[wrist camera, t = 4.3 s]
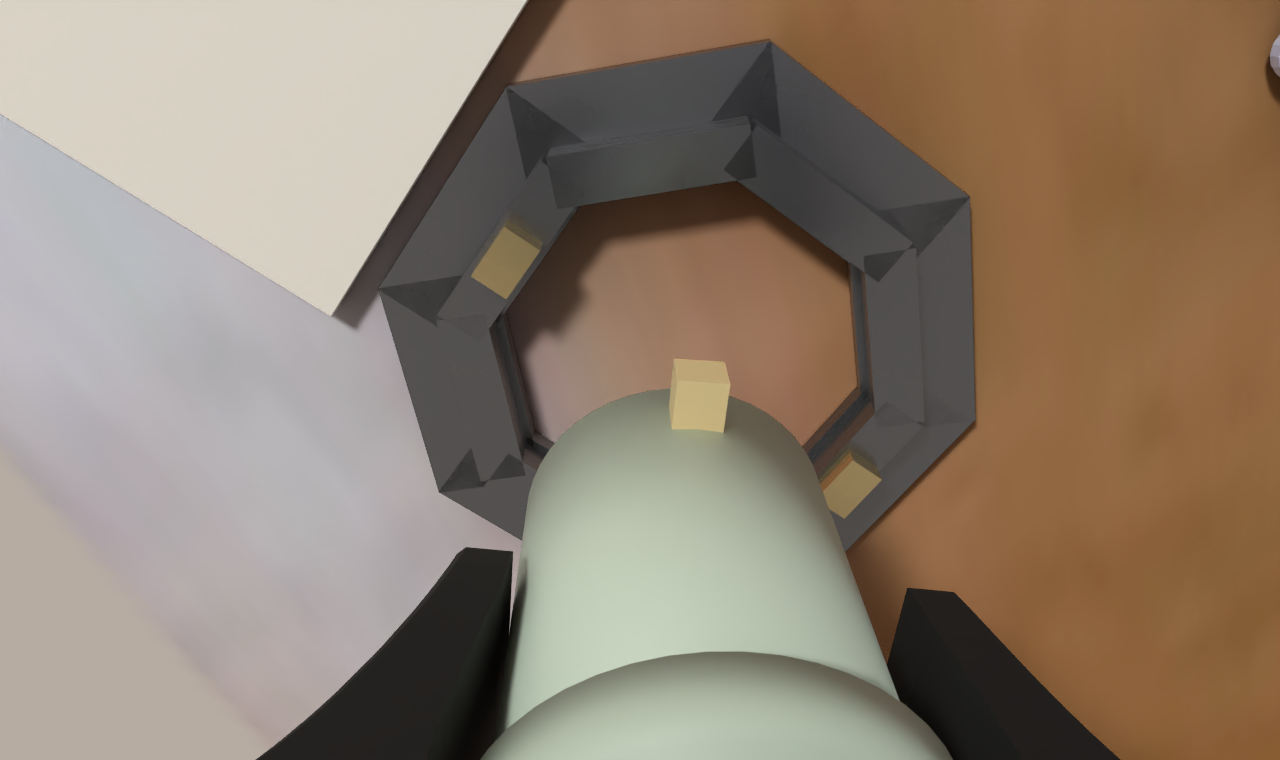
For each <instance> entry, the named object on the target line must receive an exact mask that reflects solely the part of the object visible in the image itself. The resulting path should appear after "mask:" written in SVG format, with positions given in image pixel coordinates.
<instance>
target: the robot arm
mask: <svg viewBox="0 0 1280 760" xmlns="http://www.w3.org/2000/svg"><path fill="white" fill-rule="evenodd" d="M1270 63H1271V67H1272V68H1273V70H1274V71H1275V73H1276V74H1277V75H1278V76H1279V77H1280V35H1279V36H1278V38H1277V39H1276V41H1275V42H1274V43H1273V46H1272V49H1271V53H1270ZM512 562H513V552H512V551H501V550H490V549H479V548H469V547H466V548H465V549H463V550H462V551H460V552H459V553H458V554H457V555H456V556H455V558H454V559H453V561H452V562H451V564H450V565H449V566H448V568H447V569H446V571H445V572H444V573H443V575H442V576H441V577H440V579H439V580H438V581H437V583H436V584H435V585H434V586H433V588H432V589H431V590H430V591H429V593H428V594H427V595H426V596H425V598H424V599H423V600H422V601H421V602H420V604H419V605H418V606H417V607H416V609H415V610H414V611H413V612H412V613H411V614H410V616H409V617H408V618H407V619H406V620H405V621H404V622H403V623H402V625H401V626H400V627H399V628H398V629H397V630H396V631H395V632H394V634H393V635H392V636H391V637H390V638H389V639H388V640H387V641H386V643H385V644H384V645H383V646H382V647H381V648H380V649H379V650H378V651H377V652H376V653H375V654H374V655H373V656H372V657H371V658H370V659H369V660H368V661H367V662H366V663H365V664H364V665H363V666H362V667H361V668H360V669H359V670H358V671H357V672H356V673H355V674H354V675H353V676H352V677H351V678H350V679H349V680H348V681H347V682H346V683H345V684H344V685H343V686H342V687H341V688H340V689H339V690H338V691H337V692H336V693H335V694H334V695H333V696H332V697H331V698H330V699H328V700H327V701H326V702H325V703H324V704H323V705H322V706H321V707H320V708H319V709H317V710H316V711H315V712H314V713H313V714H312V715H311V716H309V717H308V718H307V719H306V720H305V721H304V722H302V723H301V724H300V725H299V726H298V727H296V728H295V729H294V730H293V731H292V732H290V733H289V734H288V735H287V736H286V737H284V738H283V739H282V740H281V741H280V742H278V743H277V744H276V745H275V746H273V747H272V748H271V749H269V750H268V751H267V752H265V753H264V754H263V755H262V756H260V757H259V758H257V759H256V760H480V759H481V758H482V757H483V755H484V754H485V752H486V751H487V750H488V748H489V747H490V746H491V745H492V744H493V743H494V741H495V734H496V727H497V720H498V712H499V705H500V698H501V691H502V683H503V676H504V669H505V662H506V655H507V647H508V640H509V624H510V603H511V582H512ZM887 668H888V670H889V673H890V676H891V679H892V681H893V684H894V687H895V690H896V692H897V695H898V698H899V700H900V702H902V703H903V704H905V705H906V706H907V707H908V708H910V709H911V710H912V711H913V712H914V713H915V714H916V715H917V716H919V717H920V718H921V719H922V720H923V721H924V722H925V723H926V724H928V726H929V727H930V728H931V729H932V730H933V732H934V733H935V734H936V735H937V737H938V738H939V739H940V740H941V741H942V743H943V744H944V745H945V746H946V748H947V750H948V752H949V754H950V755H951V757H952V759H953V760H1120V759H1119V758H1118V757H1117V756H1116V755H1114V754H1113V753H1112V752H1111V751H1110V750H1109V749H1108V748H1107V747H1106V746H1105V745H1104V744H1102V743H1101V742H1100V741H1099V740H1098V739H1097V738H1096V737H1095V736H1094V735H1093V734H1092V733H1090V732H1089V731H1088V730H1087V729H1086V728H1085V727H1084V726H1083V725H1082V724H1081V723H1080V722H1079V721H1078V720H1077V719H1076V718H1075V717H1074V716H1073V715H1072V714H1071V713H1070V712H1069V711H1068V710H1067V709H1066V708H1065V707H1064V706H1063V705H1062V704H1061V703H1060V702H1059V701H1058V700H1057V699H1056V698H1055V697H1054V696H1053V695H1052V694H1051V693H1050V692H1049V691H1048V690H1047V689H1046V688H1045V687H1044V686H1043V685H1042V684H1041V683H1040V682H1039V681H1038V680H1037V679H1036V678H1035V677H1034V676H1033V675H1032V674H1031V673H1030V672H1029V671H1028V670H1027V669H1026V668H1025V667H1024V666H1023V664H1022V663H1021V662H1020V661H1019V660H1018V659H1017V658H1016V657H1015V656H1014V655H1013V654H1012V653H1011V652H1010V651H1009V650H1008V649H1007V647H1006V646H1005V645H1004V644H1003V643H1002V642H1001V641H1000V640H999V639H998V638H997V637H996V636H995V635H994V634H993V633H992V631H991V630H990V629H989V628H988V627H987V626H986V625H985V624H984V623H983V622H982V621H981V620H980V619H979V618H978V616H977V615H976V614H975V613H974V612H973V611H972V610H971V609H970V608H969V607H968V606H967V605H966V604H965V603H964V602H963V601H962V600H961V599H960V598H959V597H958V596H957V595H956V594H955V593H954V592H947V591H936V590H925V589H914V588H907V591H906V595H905V599H904V603H903V607H902V610H901V614H900V618H899V622H898V625H897V629H896V633H895V637H894V641H893V644H892V648H891V652H890V656H889V660H888V663H887Z"/></svg>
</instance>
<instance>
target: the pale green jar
mask: <svg viewBox="0 0 1280 760" xmlns="http://www.w3.org/2000/svg"><path fill="white" fill-rule="evenodd" d="M729 389H730V381H729V377H728V373H727V369H726V365H725V362H717V361H702V360H687V359H674V364H673V373H672V382H671V388H670V389H661V390H652V391H646V392H642V393H638V394H633V395H629V396H627V397H624V398H621V399H618V400H616V401H613V402H610V403H608V404H606V405H604V406H602V407H600V408H598V409H596V410H594V411H592V412H591V413H589V414H588V415H587V416H585V417H584V418H582V419H581V420H579V421H578V422H576V423H575V424H574V425H573V426H572V427H571V428H569V429H568V430H567V431H566V432H565V433H564V434H563V435H562V436H561V437H560V438H559V439H558V440H557V441H556V443H555V444H554V445H553V446H552V447H551V448H550V450H549V451H548V453H547V454H546V456H545V457H544V459H543V461H542V462H541V464H540V466H539V468H538V470H537V472H536V475H535V477H534V479H533V482H532V485H531V489H530V492H529V496H528V503H527V510H526V517H525V524H524V532H523V539H522V546H521V553H520V560H519V568H518V575H517V582H516V589H515V597H514V604H513V611H512V618H511V626H510V633H509V640H508V647H507V655H506V662H505V669H504V676H503V683H502V691H501V698H500V705H499V712H498V720H497V727H496V734H495V741H494V743H493V744H492V745H491V746H490V747H489V748H488V750H487V751H486V752H485V754H484V755H483V757H482V758H481V759H480V760H953V759H952V757H951V755H950V754H949V752H948V750H947V748H946V746H945V745H944V744H943V743H942V741H941V740H940V739H939V738H938V737H937V735H936V734H935V733H934V732H933V730H932V729H931V728H930V727H929V726H928V724H926V723H925V722H924V721H923V720H922V719H921V718H920V717H919V716H917V715H916V714H915V713H914V712H913V711H912V710H911V709H910V708H908V707H907V706H906V705H905V704H903V703H902V702H900V700H899V698H898V695H897V692H896V690H895V687H894V684H893V681H892V679H891V676H890V673H889V670H888V668H887V665H886V662H885V660H884V657H883V654H882V651H881V649H880V646H879V643H878V641H877V638H876V635H875V632H874V630H873V627H872V624H871V622H870V619H869V616H868V613H867V611H866V608H865V605H864V603H863V600H862V597H861V594H860V592H859V589H858V586H857V583H856V581H855V578H854V575H853V573H852V570H851V567H850V564H849V562H848V559H847V556H846V554H845V551H844V548H843V545H842V543H841V540H840V537H839V535H838V532H837V529H836V526H835V524H834V521H833V518H832V515H831V513H830V510H829V507H828V505H827V502H826V499H825V496H824V494H823V491H822V488H821V486H820V483H819V480H818V477H817V475H816V472H815V469H814V467H813V464H812V462H811V461H810V459H809V457H808V455H807V453H806V452H805V450H804V449H803V447H802V446H801V445H800V443H799V442H798V441H797V439H796V438H795V437H794V436H793V435H792V434H791V433H790V432H789V431H788V430H787V429H786V428H785V427H784V426H783V425H782V424H781V423H780V422H778V421H777V420H776V419H774V418H773V417H772V416H770V415H769V414H767V413H766V412H764V411H762V410H761V409H759V408H757V407H755V406H753V405H751V404H750V403H747V402H745V401H742V400H740V399H737V398H734V397H732V396H729Z"/></svg>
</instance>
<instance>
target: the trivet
mask: <svg viewBox="0 0 1280 760" xmlns="http://www.w3.org/2000/svg"><path fill="white" fill-rule="evenodd" d="M528 1H529V0H0V114H2V115H3V116H5V117H7V118H8V119H10V120H12V121H13V122H15V123H17V124H18V125H20V126H21V127H23V128H25V129H26V130H28V131H30V132H31V133H33V134H34V135H36V136H38V137H39V138H41V139H43V140H44V141H46V142H47V143H49V144H51V145H52V146H54V147H56V148H57V149H59V150H61V151H62V152H64V153H65V154H67V155H69V156H70V157H72V158H74V159H75V160H77V161H78V162H80V163H82V164H83V165H85V166H87V167H88V168H90V169H91V170H93V171H95V172H96V173H98V174H100V175H101V176H103V177H105V178H106V179H108V180H109V181H111V182H113V183H114V184H116V185H118V186H119V187H121V188H122V189H124V190H126V191H127V192H129V193H131V194H132V195H134V196H135V197H137V198H139V199H140V200H142V201H144V202H145V203H147V204H149V205H150V206H152V207H153V208H155V209H157V210H158V211H160V212H162V213H163V214H165V215H166V216H168V217H170V218H171V219H173V220H175V221H176V222H178V223H179V224H181V225H183V226H184V227H186V228H188V229H189V230H191V231H192V232H194V233H196V234H197V235H199V236H201V237H202V238H204V239H206V240H207V241H209V242H210V243H212V244H214V245H215V246H217V247H219V248H220V249H222V250H223V251H225V252H227V253H228V254H230V255H232V256H233V257H235V258H236V259H238V260H240V261H241V262H243V263H245V264H246V265H248V266H250V267H251V268H253V269H254V270H256V271H258V272H259V273H261V274H263V275H264V276H266V277H267V278H269V279H271V280H272V281H274V282H276V283H277V284H279V285H280V286H282V287H284V288H285V289H287V290H289V291H290V292H292V293H294V294H295V295H297V296H298V297H300V298H302V299H303V300H305V301H307V302H308V303H310V304H311V305H313V306H315V307H316V308H318V309H320V310H321V311H323V312H324V313H326V314H328V315H329V316H332V314H333V313H334V312H335V311H336V309H337V308H338V307H339V306H340V304H341V302H342V301H343V299H344V298H345V296H346V294H347V293H348V291H349V290H350V288H351V286H352V285H353V283H354V281H355V280H356V278H357V277H358V275H359V273H360V272H361V270H362V269H363V267H364V265H365V264H366V262H367V261H368V259H369V257H370V256H371V254H372V252H373V251H374V249H375V248H376V246H377V244H378V243H379V241H380V240H381V238H382V236H383V235H384V233H385V232H386V230H387V228H388V227H389V225H390V223H391V222H392V220H393V219H394V217H395V215H396V214H397V212H398V211H399V209H400V207H401V206H402V204H403V203H404V201H405V199H406V198H407V196H408V194H409V193H410V191H411V190H412V188H413V186H414V185H415V183H416V182H417V180H418V178H419V177H420V175H421V174H422V172H423V170H424V169H425V167H426V165H427V164H428V162H429V161H430V159H431V157H432V156H433V154H434V153H435V151H436V149H437V148H438V146H439V145H440V143H441V141H442V140H443V138H444V137H445V135H446V133H447V132H448V130H449V128H450V127H451V125H452V124H453V122H454V120H455V119H456V117H457V116H458V114H459V112H460V111H461V109H462V108H463V106H464V104H465V103H466V101H467V99H468V98H469V96H470V95H471V93H472V91H473V90H474V88H475V87H476V85H477V83H478V82H479V80H480V79H481V77H482V75H483V74H484V72H485V70H486V69H487V67H488V66H489V64H490V62H491V61H492V59H493V58H494V56H495V54H496V53H497V51H498V50H499V48H500V46H501V45H502V43H503V41H504V40H505V38H506V37H507V35H508V33H509V32H510V30H511V29H512V27H513V25H514V24H515V22H516V21H517V19H518V17H519V16H520V14H521V12H522V11H523V9H524V8H525V6H526V4H527V3H528Z"/></svg>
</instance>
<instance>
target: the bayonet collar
mask: <svg viewBox="0 0 1280 760" xmlns="http://www.w3.org/2000/svg"><path fill="white" fill-rule="evenodd" d="M731 181H738V182H739V183H740V184H742V185H743V186H744V187H746V188H747V189H749V190H750V191H751V192H753V193H754V194H755V195H757V196H758V197H760V198H761V199H762V200H764V201H765V202H766V203H768V204H769V205H770V206H772V207H773V208H775V209H776V210H777V211H779V212H780V213H781V214H783V215H784V216H786V217H787V218H788V219H790V220H791V221H792V222H794V223H795V224H796V225H798V226H799V227H801V228H802V229H803V230H805V231H806V232H807V233H809V234H810V235H812V236H813V237H814V238H816V239H817V240H818V241H820V242H821V243H823V244H824V245H825V246H827V247H828V248H829V249H831V250H832V251H833V252H835V253H836V254H838V255H839V256H840V257H842V258H843V259H844V260H846V261H847V266H848V278H849V291H850V303H851V315H852V327H853V340H854V352H855V364H856V376H857V387H856V388H855V389H854V391H853V392H852V393H851V394H850V395H849V396H848V397H847V398H846V399H845V400H844V402H843V403H842V404H841V405H840V406H839V407H838V408H837V409H836V410H835V411H834V413H833V414H832V415H831V416H830V417H829V418H828V419H827V420H826V421H825V422H824V424H823V425H822V426H821V427H820V428H819V429H818V430H817V431H816V432H815V434H814V435H813V436H812V437H811V438H810V439H809V440H808V441H807V442H806V443H805V445H804V446H803V449H804V450H805V452H806V453H807V455H808V457H809V459H810V461H811V462H812V464H813V467H814V469H815V472H816V475H817V477H818V480H819V483H820V486H821V488H822V491H823V494H824V496H825V499H826V502H827V505H828V507H829V510H830V513H831V515H832V518H833V521H834V524H835V526H836V529H837V532H838V535H839V537H840V540H841V543H842V545H843V548H844V551H845V552H846V551H847V550H848V549H849V548H850V547H851V546H852V545H853V544H854V543H855V542H856V541H857V539H858V538H859V537H860V536H861V535H862V534H863V533H864V532H865V531H866V530H867V529H868V528H869V527H870V526H871V525H872V524H873V523H874V522H875V521H876V520H877V519H878V518H879V517H880V516H881V515H882V514H883V513H884V512H885V511H886V510H887V509H888V508H889V507H890V506H891V505H892V504H893V503H894V502H895V501H896V500H897V499H898V498H899V497H900V496H901V495H902V494H903V493H904V492H905V491H906V490H907V489H908V488H909V487H910V486H911V485H912V484H913V483H914V482H915V480H916V479H917V478H918V477H919V476H920V475H921V474H922V473H923V472H924V471H925V470H926V469H927V468H928V467H929V466H930V465H931V464H932V463H933V462H934V461H935V460H936V459H937V458H938V457H939V456H940V455H941V454H942V453H943V452H944V451H945V450H946V449H947V448H948V447H949V446H950V445H951V444H952V443H953V442H954V441H955V440H956V439H957V438H958V437H959V436H960V435H961V434H962V433H963V432H964V431H965V430H966V429H967V428H968V427H969V426H970V425H971V424H972V423H973V421H974V420H975V419H976V418H975V384H974V344H973V305H972V265H971V225H970V196H969V195H968V194H967V193H966V192H965V191H962V190H961V189H960V188H959V187H957V186H956V185H955V184H953V183H952V182H951V181H950V180H948V179H947V178H946V177H945V176H943V175H942V174H941V173H939V172H938V171H937V170H936V169H934V168H933V167H932V166H930V165H929V164H928V163H927V162H925V161H924V160H923V159H921V158H920V157H919V156H918V155H916V154H915V153H914V152H912V151H911V150H910V149H909V148H907V147H906V146H905V145H904V144H902V143H901V142H900V141H898V140H897V139H896V138H895V137H893V136H892V135H891V134H889V133H888V132H887V131H886V130H884V129H883V128H882V127H880V126H879V125H878V124H877V123H875V122H874V121H873V120H871V119H870V118H869V117H868V116H866V115H865V114H864V113H863V112H861V111H860V110H859V109H857V108H856V107H855V106H854V105H852V104H851V103H850V102H848V101H847V100H846V99H845V98H843V97H842V96H841V95H839V94H838V93H837V92H836V91H834V90H833V89H832V88H830V87H829V86H828V85H827V84H825V83H824V82H823V81H822V80H820V79H819V78H818V77H816V76H815V75H814V74H813V73H811V72H810V71H809V70H807V69H806V68H805V67H804V66H802V65H801V64H800V63H798V62H797V61H796V60H795V59H793V58H792V57H791V56H789V55H788V54H787V53H786V52H784V51H783V50H782V49H781V48H779V47H778V46H777V45H775V44H774V43H773V42H772V41H770V39H765V40H760V41H754V42H748V43H742V44H736V45H731V46H725V47H719V48H713V49H707V50H702V51H696V52H690V53H684V54H678V55H672V56H667V57H661V58H655V59H649V60H643V61H638V62H632V63H626V64H620V65H614V66H609V67H603V68H597V69H591V70H585V71H580V72H574V73H568V74H562V75H556V76H551V77H545V78H539V79H533V80H527V81H522V82H516V83H509V84H508V85H507V86H506V88H505V90H504V92H503V93H502V95H501V96H500V98H499V100H498V101H497V103H496V104H495V106H494V107H493V109H492V111H491V112H490V114H489V115H488V117H487V118H486V120H485V122H484V123H483V125H482V126H481V128H480V129H479V131H478V133H477V134H476V136H475V137H474V139H473V141H472V142H471V144H470V145H469V147H468V148H467V150H466V152H465V153H464V155H463V156H462V158H461V159H460V161H459V163H458V164H457V166H456V167H455V169H454V170H453V172H452V174H451V175H450V177H449V178H448V180H447V181H446V183H445V185H444V186H443V188H442V189H441V191H440V193H439V194H438V196H437V197H436V199H435V200H434V202H433V204H432V205H431V207H430V208H429V210H428V211H427V213H426V215H425V216H424V218H423V219H422V221H421V222H420V224H419V226H418V227H417V229H416V230H415V232H414V233H413V235H412V237H411V238H410V240H409V241H408V243H407V245H406V246H405V248H404V249H403V251H402V252H401V254H400V256H399V257H398V259H397V260H396V262H395V263H394V265H393V267H392V268H391V270H390V271H389V273H388V274H387V276H386V278H385V279H384V281H383V282H382V284H381V285H380V286H379V288H378V290H379V293H380V296H381V300H382V303H383V306H384V310H385V313H386V316H387V320H388V323H389V326H390V330H391V333H392V336H393V340H394V343H395V346H396V350H397V353H398V356H399V360H400V363H401V366H402V370H403V373H404V377H405V380H406V383H407V387H408V390H409V393H410V397H411V400H412V403H413V407H414V410H415V413H416V417H417V420H418V423H419V427H420V430H421V433H422V437H423V440H424V443H425V447H426V450H427V454H428V457H429V460H430V464H431V467H432V470H433V474H434V477H435V480H436V484H437V487H438V490H439V493H441V494H443V495H445V496H446V497H448V498H450V499H452V500H453V501H455V502H457V503H458V504H460V505H462V506H464V507H465V508H467V509H469V510H470V511H472V512H474V513H476V514H477V515H479V516H481V517H482V518H484V519H486V520H488V521H489V522H491V523H493V524H494V525H496V526H498V527H500V528H501V529H503V530H505V531H506V532H508V533H510V534H512V535H513V536H515V537H517V538H518V539H520V540H522V539H523V532H524V524H525V517H526V510H527V503H528V496H529V492H530V489H531V485H532V482H533V479H534V477H535V475H536V472H537V470H538V468H539V466H540V464H541V462H542V461H543V459H544V457H545V456H546V454H547V453H548V451H549V450H550V448H551V447H552V446H553V445H554V444H555V443H553V442H551V441H550V440H548V439H547V438H545V437H543V436H542V435H540V434H538V433H537V432H535V429H534V425H533V421H532V417H531V413H530V409H529V405H528V401H527V396H526V392H525V388H524V384H523V380H522V376H521V372H520V368H519V364H518V359H517V355H516V351H515V347H514V343H513V339H512V335H511V331H510V326H509V322H508V318H507V314H506V310H507V309H508V308H509V306H510V305H511V303H512V302H513V301H514V299H515V298H516V296H517V295H518V293H519V292H520V291H521V289H522V288H523V286H524V285H525V283H526V282H527V281H528V279H529V278H530V276H531V275H532V274H533V272H534V271H535V269H536V268H537V266H538V265H539V264H540V262H541V261H542V259H543V258H544V256H545V255H546V254H547V252H548V251H549V249H550V248H551V247H552V245H553V244H554V242H555V241H556V239H557V238H558V237H559V235H560V234H561V232H562V231H563V229H564V228H565V227H566V225H567V224H568V222H569V221H570V220H571V218H572V217H573V215H574V214H575V212H576V211H577V210H578V208H579V207H580V206H581V205H588V204H594V203H600V202H606V201H613V200H619V199H625V198H631V197H638V196H644V195H650V194H656V193H663V192H669V191H675V190H681V189H688V188H694V187H700V186H706V185H713V184H719V183H725V182H731Z"/></svg>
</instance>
